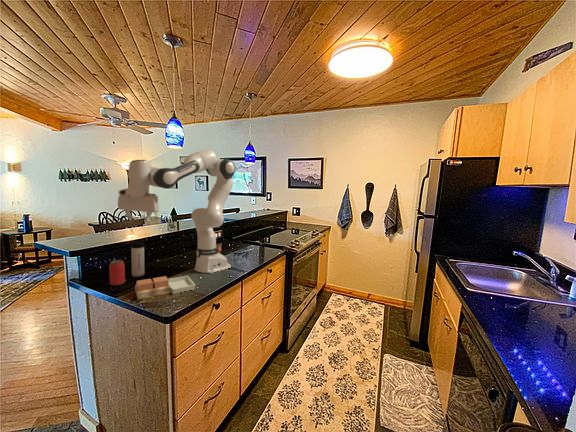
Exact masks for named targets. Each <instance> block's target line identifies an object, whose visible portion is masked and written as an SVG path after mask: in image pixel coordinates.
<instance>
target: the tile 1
mask: <svg viewBox="0 0 576 432" xmlns="http://www.w3.org/2000/svg"><path fill="white" fill-rule="evenodd" d="M136 285H137V289H138V291H143V290H148V289H153V279H151V278H148V279H141V280H136Z"/></svg>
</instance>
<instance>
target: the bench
mask: <svg viewBox="0 0 576 432" xmlns="http://www.w3.org/2000/svg"><path fill="white" fill-rule="evenodd" d="M134 292H135V295H136V299H137V301H138V300H139V301H140V300H143V299H144V300H145V299H148V298H155V297H158V296H163V295H168V294H172V293H171V287H170V285H169V286H164V287H159V288H155V287H154V285H153V289H148V290H143V291H138V289H137V284H135V285H134Z"/></svg>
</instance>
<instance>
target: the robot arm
mask: <svg viewBox="0 0 576 432" xmlns="http://www.w3.org/2000/svg"><path fill="white" fill-rule="evenodd" d="M203 171H205V172H207V174H208V175H209V176H212V177H216V181H215V183H214V185H213V186H212V188H211V190H210V192H209V194H208V196H207V200H208V202H207V207H206V208H204V207H197V208H195V209H194V210H193V211H192V212H191V220H192V221H193V223H194V226H195V231H196V233H197V234H196V235H197V247H196V262H195V266H194V271H196V272H198V273H207V274H215V273H217V271H218V272H222V271H226V270H229V269H228V268H230V269H231V268H232V266H231V264H230V263H228V259H227V257H226V256H225V255H223V254H221V252H222V249H221V247H217V234H216V233H215V231H214V229H213V228H220V227H221V226H222V225H223V224H224V221H225V217H224V214H223V213H224V212H223V211H224V206H225V203H226V202H227V199H228V198H229V195H230V193H231V191H232V190H233V189H232V188H233V185H234V181H233V177H234V174H235V172H236V165H235V163H234V161H232V160H231V159H227V158H225V159H224V158H217V155H216V154H215V152H214V151H212V150H209V149H206V150H205V149H204V150H200V151H196V152H194V153H192V154H191V153H190V154H189V155H187V156H186V157H185V158H184V161H183V164H181V165H178V166H175V167H173V168H170V167H169V168H168V167H162V168H159V167H157V166H155V165H153V164H152V163H151V162H149V161H148V160H147V159H133V160H131V161H130V162H129V166H128V175H127V176H128V180H129V181H128V185H127V188H123V189H120V190H118V195H119V196H118V198H117V207H118V209H119V210H120V211H121V210H124V212H125V214H126V218H127V220H133V215H132V214H131V212H132V211H133V212H143V213H144V212H146V213H145V214H146V215H145V216H144V221H146V222H150V220H151V219H150V217H151V216H152V214H153V213H158V212H159V211H160V205H159V196H158V195H157V194H155V193H150V186H152V187H156V188H162V189H165V190H166V189H172V188H173V187H174V186H175V185H176V184H177V183H178V182H179V181H180V180H182V179H184V178H186V177H188V176H190V175H193V174H197V173H201V172H203ZM225 269H226V270H225ZM221 270H222V271H221ZM214 272H215V273H214Z"/></svg>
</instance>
